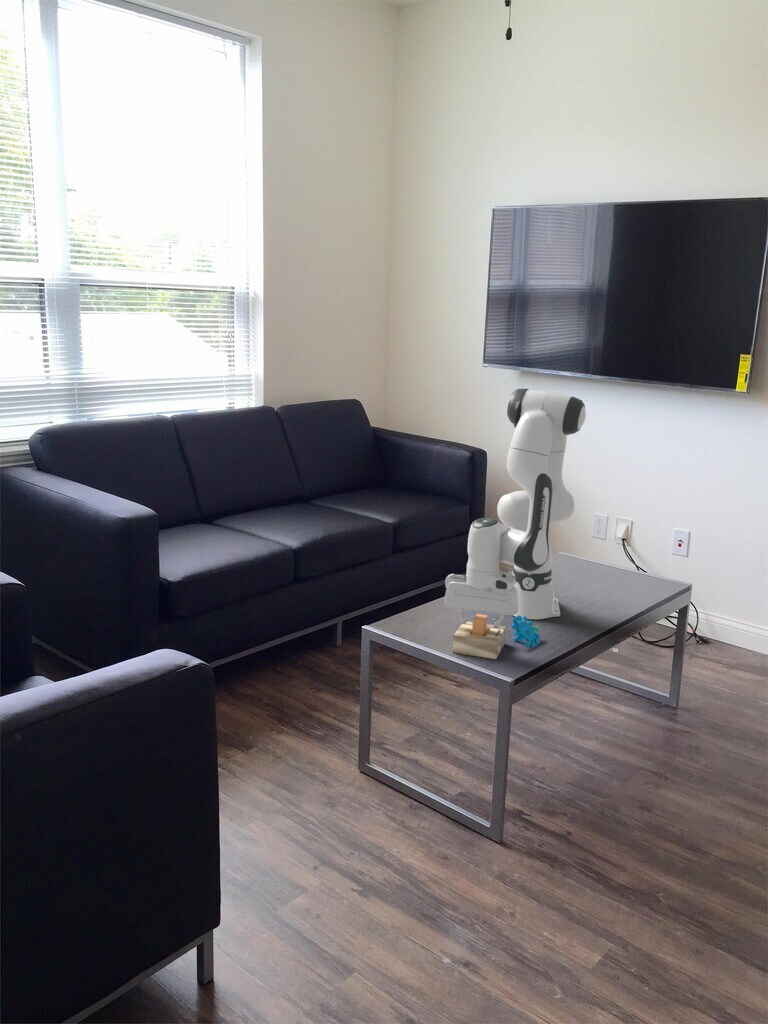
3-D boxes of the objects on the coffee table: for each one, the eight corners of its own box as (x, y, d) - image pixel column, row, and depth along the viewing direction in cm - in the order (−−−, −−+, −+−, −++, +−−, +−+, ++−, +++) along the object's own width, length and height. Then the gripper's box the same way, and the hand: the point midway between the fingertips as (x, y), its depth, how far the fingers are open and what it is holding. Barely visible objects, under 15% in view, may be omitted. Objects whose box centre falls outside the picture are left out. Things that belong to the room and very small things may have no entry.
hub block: (463, 637, 247) (464, 620, 246) (504, 643, 244) (505, 626, 242) (452, 652, 236) (453, 634, 235) (495, 659, 232) (496, 640, 231)
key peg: (471, 650, 238) (472, 619, 236) (475, 644, 243) (477, 614, 241) (482, 652, 237) (483, 621, 235) (486, 645, 242) (487, 615, 240)
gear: (525, 647, 237) (509, 615, 241) (511, 657, 240) (495, 625, 245) (549, 643, 244) (533, 612, 249) (535, 653, 248) (520, 622, 252)
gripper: (442, 576, 236) (440, 624, 239) (517, 585, 229) (514, 634, 232) (448, 570, 241) (446, 616, 245) (521, 578, 235) (518, 626, 238)
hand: (480, 625), depth 238 cm, fingers open, 8 cm apart
